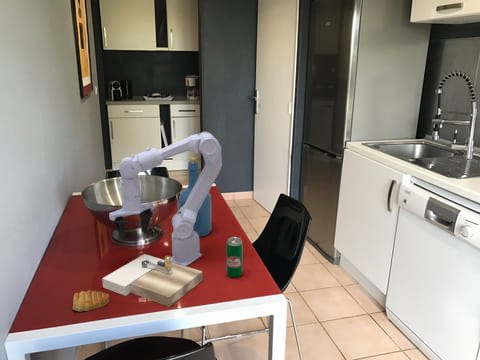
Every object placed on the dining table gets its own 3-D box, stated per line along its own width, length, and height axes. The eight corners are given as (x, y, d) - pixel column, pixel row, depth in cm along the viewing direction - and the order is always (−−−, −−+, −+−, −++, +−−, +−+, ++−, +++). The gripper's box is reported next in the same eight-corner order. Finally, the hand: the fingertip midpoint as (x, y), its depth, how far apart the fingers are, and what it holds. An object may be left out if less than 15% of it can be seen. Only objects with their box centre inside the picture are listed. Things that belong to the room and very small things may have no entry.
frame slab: (144, 262, 132) (144, 254, 132) (166, 268, 128) (165, 260, 127) (103, 287, 117) (102, 278, 116) (125, 295, 113) (124, 286, 112)
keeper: (159, 266, 123) (159, 260, 123) (167, 269, 122) (166, 263, 121) (157, 268, 123) (157, 262, 122) (165, 270, 121) (164, 264, 121)
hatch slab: (166, 269, 128) (166, 260, 127) (202, 280, 122) (202, 271, 121) (131, 292, 115) (130, 283, 114) (169, 306, 108) (168, 297, 107)
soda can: (225, 277, 123) (224, 242, 120) (227, 269, 128) (227, 235, 125) (241, 279, 122) (241, 243, 119) (243, 271, 127) (243, 236, 124)
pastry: (109, 295, 114) (108, 283, 113) (109, 309, 108) (108, 296, 106) (74, 300, 111) (73, 289, 110) (72, 315, 105) (70, 302, 104)
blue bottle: (208, 239, 149) (207, 162, 141) (174, 238, 151) (171, 161, 143) (214, 225, 163) (213, 154, 154) (183, 224, 164) (180, 153, 156)
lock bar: (140, 266, 123) (139, 251, 122) (145, 263, 125) (144, 248, 124) (168, 275, 118) (167, 259, 117) (173, 271, 120) (173, 256, 119)
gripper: (115, 203, 117) (118, 245, 120) (157, 193, 126) (159, 232, 130) (104, 198, 121) (108, 238, 125) (146, 188, 131) (148, 226, 135)
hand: (133, 235), depth 128 cm, fingers open, 7 cm apart
